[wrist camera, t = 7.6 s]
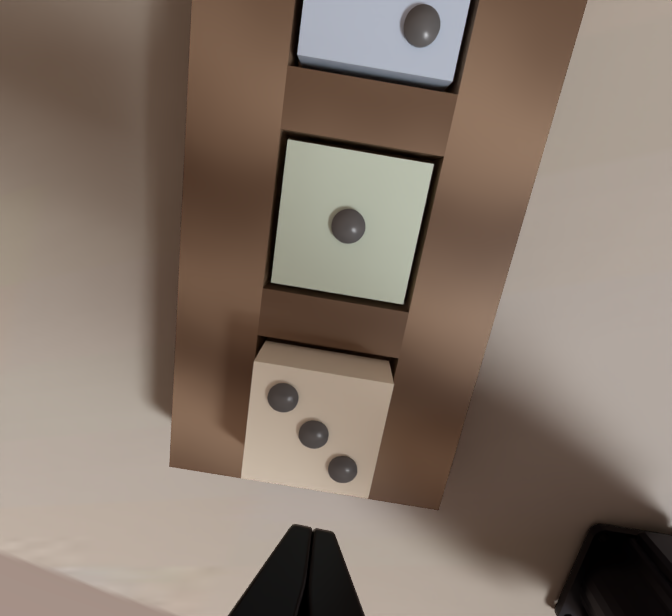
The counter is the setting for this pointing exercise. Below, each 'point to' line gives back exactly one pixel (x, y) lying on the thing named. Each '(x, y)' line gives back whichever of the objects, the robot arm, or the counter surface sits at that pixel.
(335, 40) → the tile
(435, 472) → the board
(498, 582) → the counter surface
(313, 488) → the tile
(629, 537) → the robot arm
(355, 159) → the tile
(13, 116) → the counter surface
